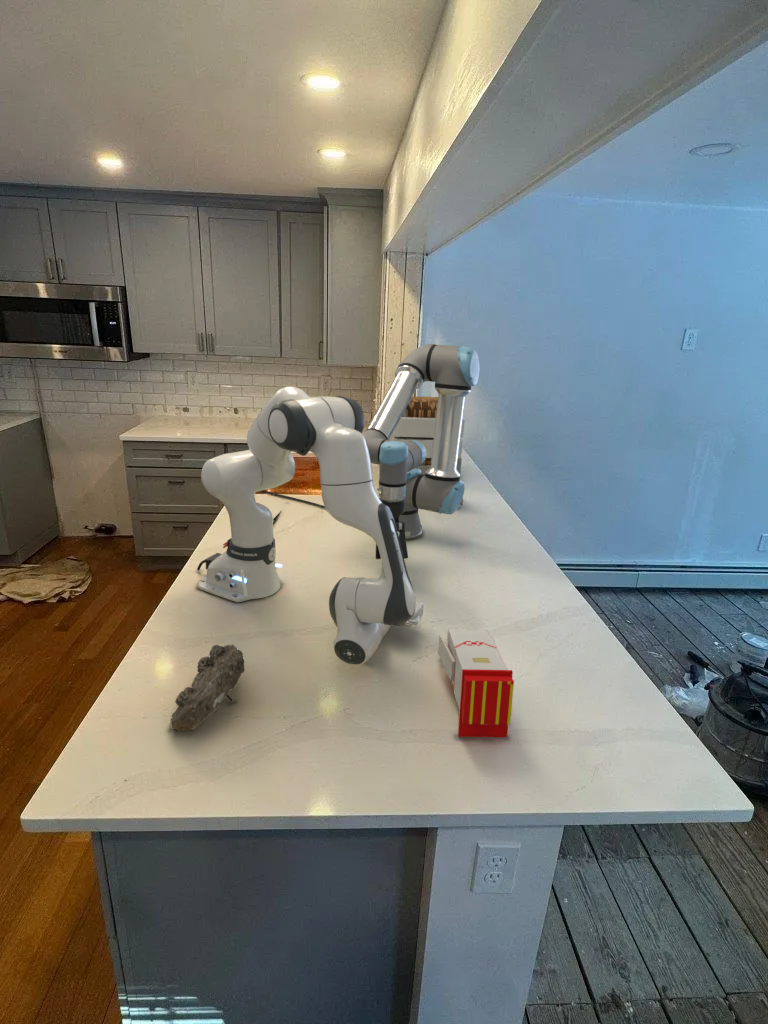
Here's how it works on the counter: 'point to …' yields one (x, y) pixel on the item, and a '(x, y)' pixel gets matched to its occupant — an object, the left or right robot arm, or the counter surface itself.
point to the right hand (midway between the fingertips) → (388, 568)
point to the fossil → (208, 687)
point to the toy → (478, 682)
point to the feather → (275, 518)
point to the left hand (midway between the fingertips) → (390, 591)
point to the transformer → (422, 426)
